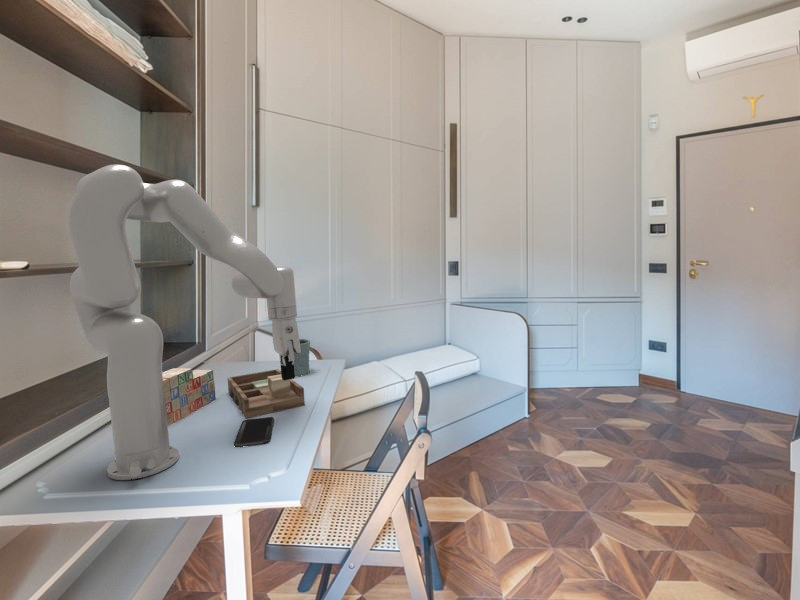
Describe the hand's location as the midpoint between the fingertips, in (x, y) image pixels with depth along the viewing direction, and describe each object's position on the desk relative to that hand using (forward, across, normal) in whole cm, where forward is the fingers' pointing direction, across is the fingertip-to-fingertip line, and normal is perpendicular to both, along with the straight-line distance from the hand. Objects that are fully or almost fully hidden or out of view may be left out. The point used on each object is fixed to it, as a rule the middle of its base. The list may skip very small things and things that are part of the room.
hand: (288, 378), depth 114 cm
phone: (+9, -10, +12) cm, 18 cm away
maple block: (+6, +8, +1) cm, 10 cm away
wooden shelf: (+9, +14, +4) cm, 17 cm away
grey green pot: (+10, +35, -13) cm, 38 cm away
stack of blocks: (+9, +17, +26) cm, 32 cm away
